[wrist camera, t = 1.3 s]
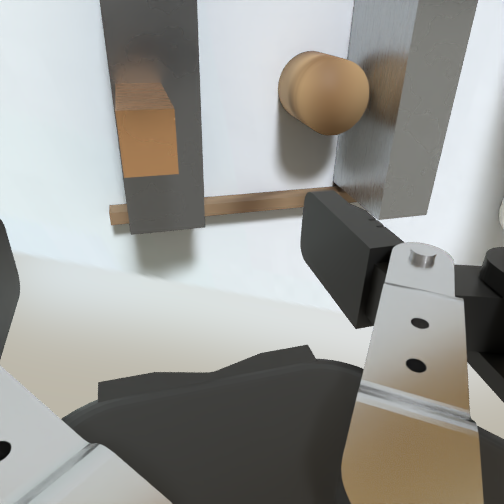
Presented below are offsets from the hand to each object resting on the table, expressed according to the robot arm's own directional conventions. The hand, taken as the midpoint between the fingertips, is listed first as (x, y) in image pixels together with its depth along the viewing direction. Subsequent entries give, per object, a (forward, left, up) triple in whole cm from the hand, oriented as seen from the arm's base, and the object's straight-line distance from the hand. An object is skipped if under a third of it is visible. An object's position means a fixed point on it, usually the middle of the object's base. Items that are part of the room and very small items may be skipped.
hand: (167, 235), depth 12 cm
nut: (-13, 0, -23) cm, 26 cm away
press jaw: (-1, 0, -23) cm, 23 cm away
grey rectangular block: (-18, 0, -23) cm, 29 cm away
